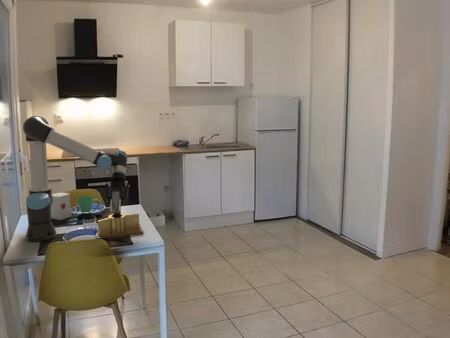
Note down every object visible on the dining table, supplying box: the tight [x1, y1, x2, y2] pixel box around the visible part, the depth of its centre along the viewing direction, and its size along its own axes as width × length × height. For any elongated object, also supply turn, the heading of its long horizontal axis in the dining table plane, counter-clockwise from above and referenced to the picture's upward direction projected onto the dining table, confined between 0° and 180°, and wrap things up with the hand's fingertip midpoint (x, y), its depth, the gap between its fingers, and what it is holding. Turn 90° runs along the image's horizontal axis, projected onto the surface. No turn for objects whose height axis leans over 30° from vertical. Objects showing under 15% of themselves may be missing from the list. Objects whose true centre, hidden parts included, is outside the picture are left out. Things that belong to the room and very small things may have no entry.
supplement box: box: [51, 192, 72, 221], centre depth 263 cm, size 9×9×15 cm
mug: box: [76, 196, 101, 213], centre depth 271 cm, size 15×10×10 cm
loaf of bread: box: [95, 213, 144, 239], centre depth 235 cm, size 25×15×10 cm, turn 109°
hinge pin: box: [111, 190, 122, 217], centre depth 233 cm, size 4×4×16 cm
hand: (115, 210), depth 230 cm, fingers closed on hinge pin, 4 cm apart
